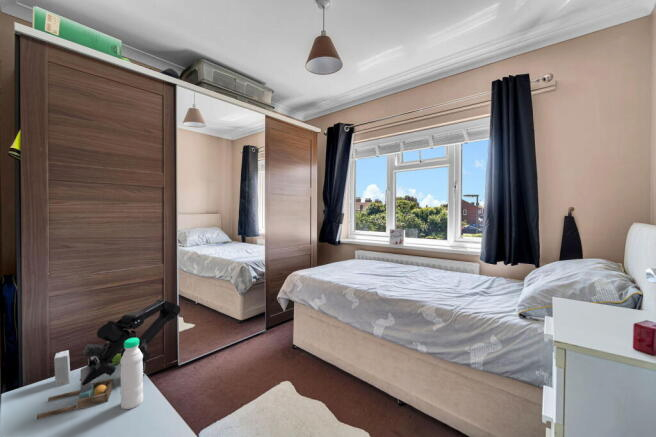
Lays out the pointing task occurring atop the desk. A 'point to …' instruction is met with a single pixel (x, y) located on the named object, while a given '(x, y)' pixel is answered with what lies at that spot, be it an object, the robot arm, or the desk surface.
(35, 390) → the desk surface
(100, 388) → the ball
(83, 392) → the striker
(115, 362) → the snail figurine
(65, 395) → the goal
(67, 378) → the skincare box
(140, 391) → the water bottle
